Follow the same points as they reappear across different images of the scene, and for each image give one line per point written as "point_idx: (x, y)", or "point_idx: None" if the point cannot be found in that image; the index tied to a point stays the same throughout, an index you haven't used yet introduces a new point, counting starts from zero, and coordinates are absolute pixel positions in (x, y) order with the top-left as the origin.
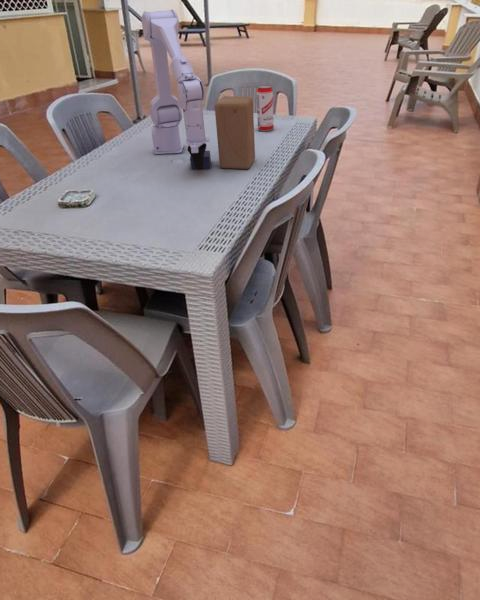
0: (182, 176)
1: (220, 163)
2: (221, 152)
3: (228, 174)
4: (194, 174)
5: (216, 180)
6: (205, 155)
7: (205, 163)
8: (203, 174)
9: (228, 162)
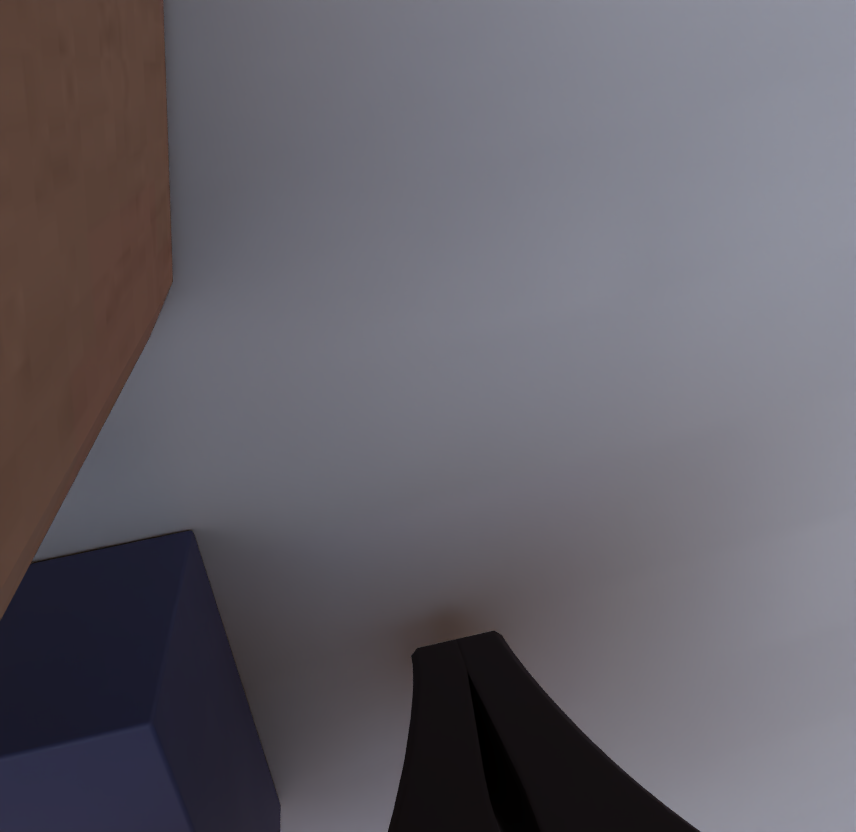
0: None
1: (147, 334)
2: (93, 391)
3: (529, 25)
4: None
5: (852, 237)
6: (79, 821)
7: (201, 674)
8: (514, 557)
9: (143, 75)
